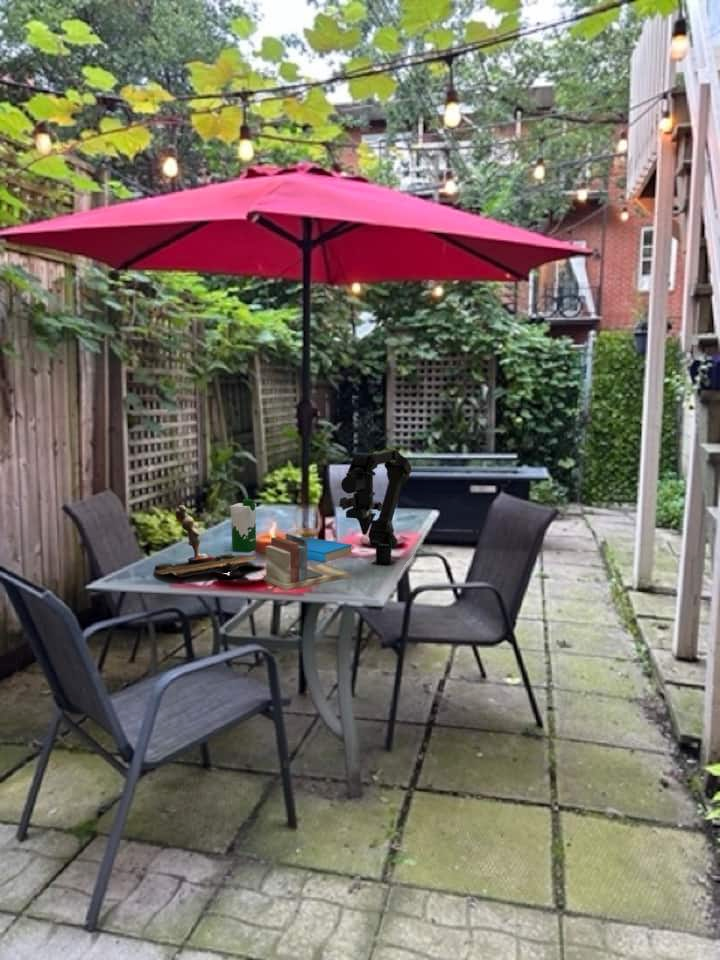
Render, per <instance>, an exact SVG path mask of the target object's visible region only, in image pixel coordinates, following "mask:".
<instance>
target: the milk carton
mask: <svg viewBox="0 0 720 960" xmlns="http://www.w3.org/2000/svg"><path fill="white" fill-rule="evenodd" d="M229 509H230V517H231V521H230V523H231V524H230V525H231V550H232V552H239V553H250V552H252V551H254V550H256V549H257V545H256V546H255V542H256V543H257V527H256V526H257V524H256V523H257V521H256V512H257V503H254V499H252V498H244V499H242V502H237V503H236V504H233V505H229Z"/></svg>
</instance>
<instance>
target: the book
mask: <svg viewBox="0 0 720 960" xmlns="http://www.w3.org/2000/svg"><path fill="white" fill-rule="evenodd" d="M299 537H300V538H303V539H306V540H307V560H311V561H316V562H323V563H327V562H330V561H332V560H335V559H338V558H342V557H345V556H348V555H351V554H352V544H350V543H344V542H338V541H331V540H326V539H321V538H320V539H319V538H313V537H307V536H299Z"/></svg>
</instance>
